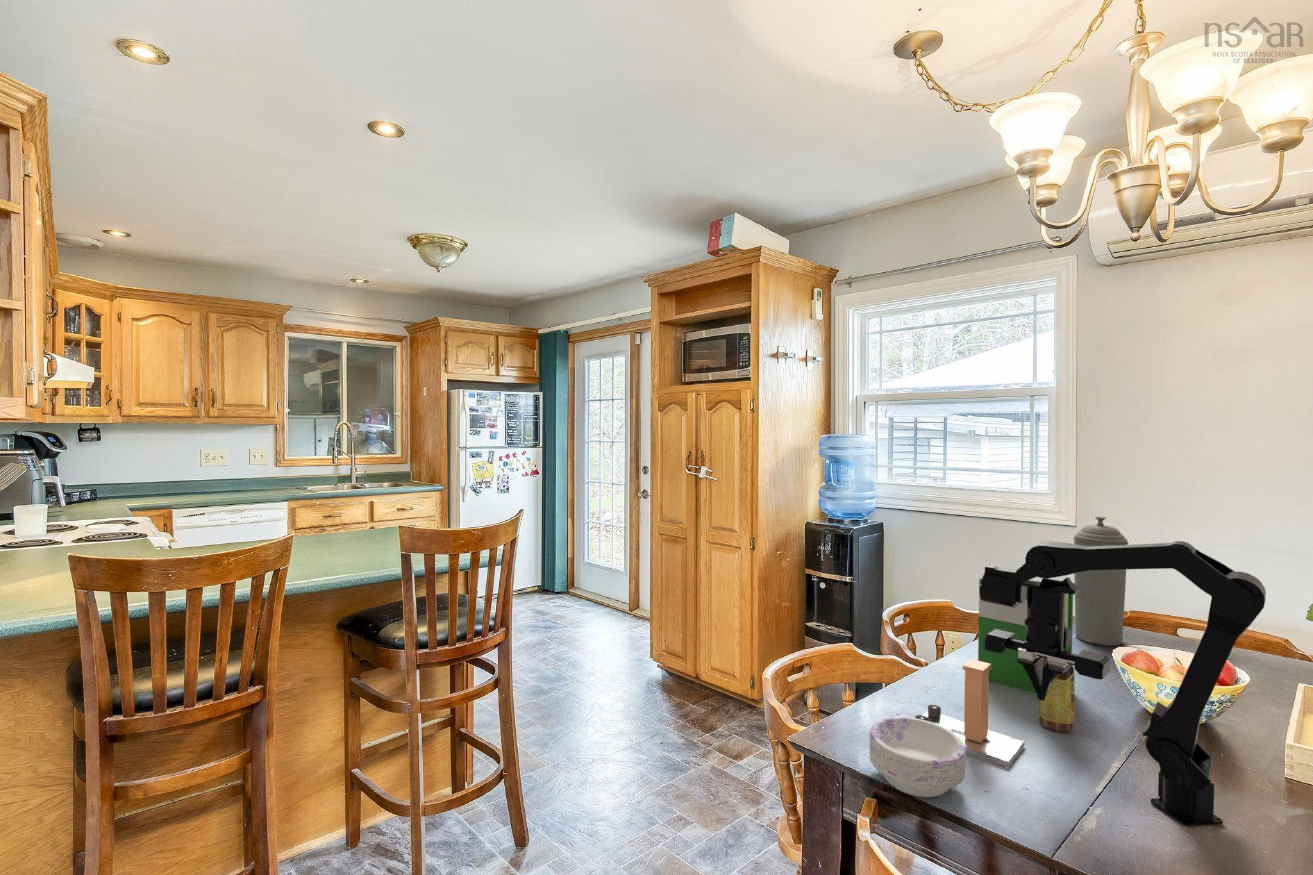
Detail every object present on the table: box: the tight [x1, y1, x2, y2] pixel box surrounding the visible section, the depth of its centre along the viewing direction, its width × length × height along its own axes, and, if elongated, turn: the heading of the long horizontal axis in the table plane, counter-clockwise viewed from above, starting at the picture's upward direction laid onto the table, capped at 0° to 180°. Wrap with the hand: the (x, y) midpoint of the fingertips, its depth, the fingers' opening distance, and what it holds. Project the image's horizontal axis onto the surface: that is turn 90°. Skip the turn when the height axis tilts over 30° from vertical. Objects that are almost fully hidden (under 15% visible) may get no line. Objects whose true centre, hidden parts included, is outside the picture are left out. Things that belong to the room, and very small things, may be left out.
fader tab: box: [962, 658, 991, 743], centre depth 122 cm, size 4×5×14 cm
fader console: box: [915, 704, 1025, 769], centre depth 124 cm, size 18×10×3 cm, turn 46°
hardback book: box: [977, 576, 1074, 695], centre depth 150 cm, size 18×7×24 cm, turn 44°
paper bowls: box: [869, 716, 967, 798], centre depth 109 cm, size 15×15×8 cm
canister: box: [1073, 515, 1129, 647], centre depth 180 cm, size 13×13×35 cm
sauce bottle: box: [1037, 648, 1076, 733], centre depth 129 cm, size 6×6×20 cm
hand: (1042, 699), depth 114 cm, fingers closed
